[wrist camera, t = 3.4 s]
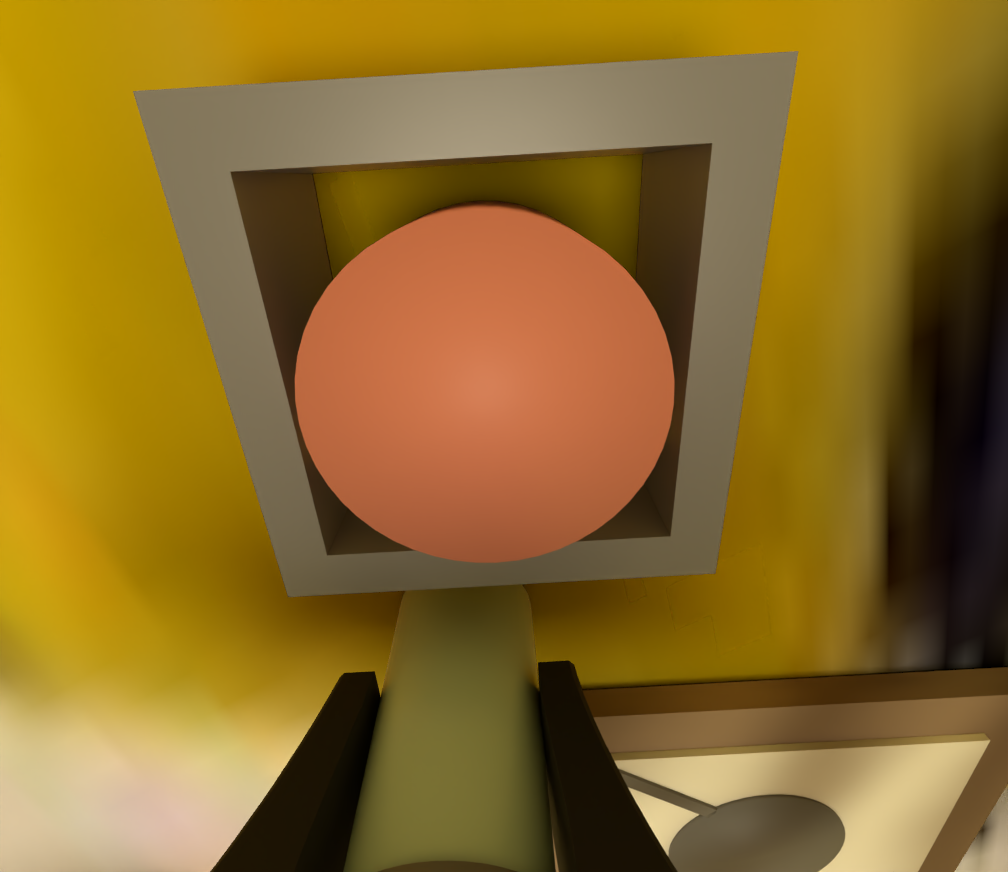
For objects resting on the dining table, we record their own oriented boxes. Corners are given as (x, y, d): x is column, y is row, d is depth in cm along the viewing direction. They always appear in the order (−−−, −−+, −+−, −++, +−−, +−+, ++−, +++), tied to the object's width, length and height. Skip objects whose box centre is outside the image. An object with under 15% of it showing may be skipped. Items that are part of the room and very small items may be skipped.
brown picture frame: (1034, 665, 14) (1075, 702, 13) (907, 894, 19) (929, 933, 18) (512, 693, 14) (514, 732, 13) (527, 914, 19) (529, 954, 18)
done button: (632, 191, 7) (693, 198, 5) (619, 464, 9) (659, 554, 7) (322, 210, 7) (249, 223, 5) (372, 477, 9) (335, 571, 7)
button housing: (697, 92, 8) (797, 51, 6) (662, 478, 11) (715, 573, 9) (250, 119, 8) (133, 91, 6) (336, 497, 11) (287, 597, 9)
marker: (533, 552, 12) (594, 1100, 5) (537, 657, 14) (588, 1195, 6) (386, 561, 12) (233, 1119, 5) (406, 665, 14) (311, 1208, 6)
